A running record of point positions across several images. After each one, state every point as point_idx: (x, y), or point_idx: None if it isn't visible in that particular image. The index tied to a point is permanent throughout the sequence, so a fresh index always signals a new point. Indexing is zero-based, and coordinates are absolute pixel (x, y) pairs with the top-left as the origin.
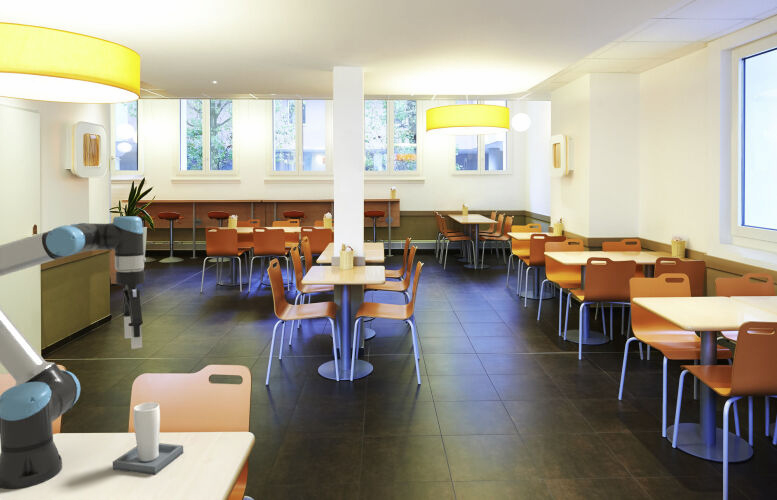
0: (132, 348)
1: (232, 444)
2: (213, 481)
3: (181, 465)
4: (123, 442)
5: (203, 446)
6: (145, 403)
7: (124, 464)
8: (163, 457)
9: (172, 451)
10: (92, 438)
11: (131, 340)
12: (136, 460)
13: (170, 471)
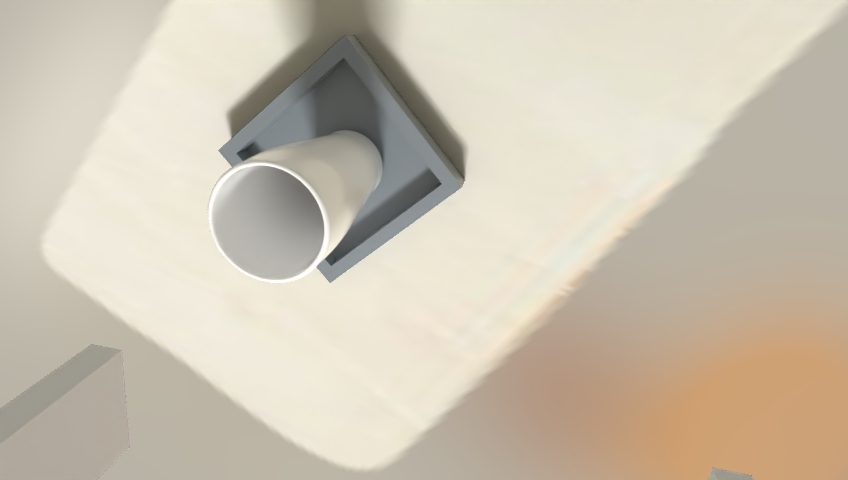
0: (88, 353)
1: (307, 406)
2: (106, 263)
3: None
4: (584, 134)
5: (348, 338)
6: (324, 236)
7: (307, 70)
8: None
9: None
10: (739, 33)
11: (2, 407)
12: (358, 123)
13: None
